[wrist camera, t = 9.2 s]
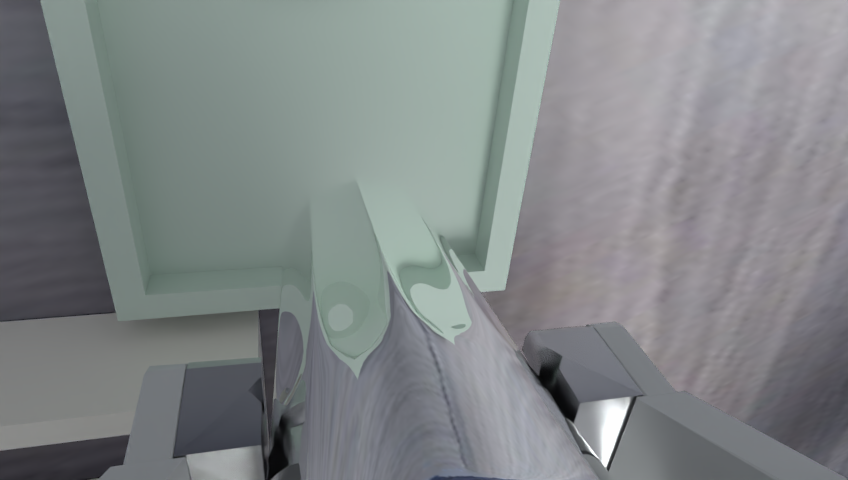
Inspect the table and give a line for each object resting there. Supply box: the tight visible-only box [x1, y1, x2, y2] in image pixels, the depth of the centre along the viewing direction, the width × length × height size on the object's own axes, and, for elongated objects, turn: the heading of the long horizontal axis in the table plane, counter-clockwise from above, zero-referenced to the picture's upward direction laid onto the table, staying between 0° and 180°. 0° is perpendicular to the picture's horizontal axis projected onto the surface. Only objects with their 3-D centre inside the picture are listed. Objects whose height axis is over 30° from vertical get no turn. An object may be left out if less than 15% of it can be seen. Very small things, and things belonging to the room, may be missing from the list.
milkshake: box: [266, 178, 614, 480], centre depth 9 cm, size 4×5×10 cm
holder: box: [0, 310, 269, 480], centre depth 22 cm, size 15×10×5 cm, turn 85°
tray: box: [40, 0, 560, 321], centre depth 19 cm, size 14×14×2 cm
